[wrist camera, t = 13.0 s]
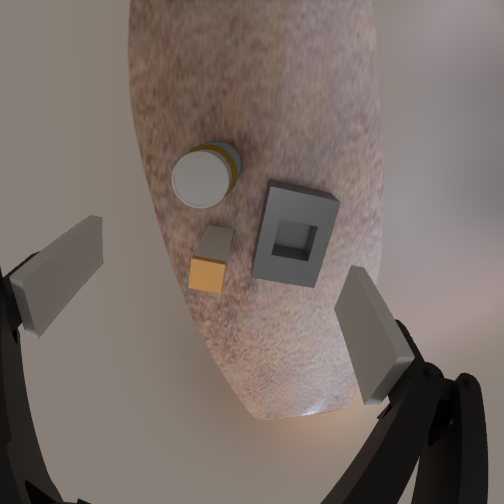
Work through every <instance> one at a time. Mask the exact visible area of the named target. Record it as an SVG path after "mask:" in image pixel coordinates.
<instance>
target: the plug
mask: <svg viewBox="0 0 504 504" xmlns="http://www.w3.org/2000/svg"><path fill="white" fill-rule="evenodd" d="M233 233H234V229H230V228H225V227H220V226H214V225H208V227H207V229H206V231H205V233H204V235H203V237H202V239H201V241H200V243H199V245H198V247H197V249H196V251H195V253H194V255H193V257H192V260H191V268H190V277H189V287H188V288H192V289H197V290H202V291H208V292H213V293H218V294H221V290H222V285H223V281H224V276H225V272H226V267H227V263H228V259H229V254H230V249H231V244H232V238H233Z"/></svg>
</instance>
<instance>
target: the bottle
mask: <svg viewBox="0 0 504 504" xmlns="http://www.w3.org/2000/svg"><path fill="white" fill-rule="evenodd" d="M240 170H241V158H240V156H239V154H238V152H237V151H236V150H235V148H234V147H232V146H231V145H229V144H227V143H224V142H212V143H208V144H204V145H200V146H198V147H196V148H193V149H192V150H190V151H189V152H188V153H187V154H186V155H185V156H183V157H182V158H181V159H180V160H179V161H178V162H177V163H176V165H175V167H174V169H173V172H172V187H173V190H174V192H175V194H176V196H177V197H178V198H179V200H180V201H182V202H183V203H184V204H186V205H188V206H190V207H193V208H199V209H201V208H209V207H212V206H213V205H215V204H217V203H218V202H220V200H222V199H223V198H224V197H225V196H226V195H227V194H228V193H229V192H230V191H231V190H232V188H233V187H234V185H235V183H236V180H237V178H238V176H239V174H240Z"/></svg>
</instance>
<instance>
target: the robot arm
mask: <svg viewBox="0 0 504 504" xmlns="http://www.w3.org/2000/svg"><path fill="white" fill-rule="evenodd" d="M102 264H103V238H102V217H98V216H93V215H90V216H88V217H87V218H86V219H84V220H83V221H81V222H80V223H78V224H77V225H75V226H74V227H73V228H71V229H70V230H68V231H67V232H66V233H64V234H63V235H61V236H60V237H59V238H57V239H56V240H55V241H53V242H52V243H51V244H50V245H48V246H47V247H46V248H44V249H43V250H41V251H39V252H37V253H34V254H32V255H30V256H29V257H28V258H27V259H25V261H23V262H22V263H20V264H19V266H17V267H15V268H14V269H13V270H12V271H11V272H9V273H8V274H7V275H6V276H5V277H4V278H3V276H2V272H1V268H0V504H90V503H87V502H85V501H83V500H81V499H78V501H77V503H71V502H63V499H62V498H61V495H60V493H59V492H58V490H57V488H56V487H55V485H54V484H53V482H52V481H51V479H50V477H49V475H48V472H47V469H46V466H45V463H44V460H43V457H42V455H41V451H40V447H39V444H38V440H37V437H36V433H35V429H34V425H33V421H32V417H31V412H30V408H29V402H28V397H27V392H26V386H25V379H24V372H23V365H22V355H21V344H20V333H19V330H18V327H19V325H20V324H21V323H23V326H24V329H25V332H26V334H28V335H31V336H33V337H35V338H37V339H39V338H40V336H42V334H43V333H44V332H45V330H46V329H47V328H48V327H49V325H50V324H51V323H52V321H53V320H54V319H55V318H56V317H57V316H58V314H59V313H60V312H61V311H62V310H63V308H64V307H65V306H66V305H67V303H68V302H69V301H70V300H71V299H72V298H73V297H74V295H75V294H76V293H77V292H78V291H79V290H80V288H81V287H82V286H83V285H84V284H85V283H86V282H87V281H88V280H89V278H90V277H91V276H92V275H93V274H94V273H95V272H96V271H97V269H99V268H100V267H101V265H102ZM334 309H335V312H336V315H337V318H338V321H339V324H340V327H341V330H342V333H343V336H344V339H345V342H346V345H347V349H348V352H349V355H350V358H351V361H352V365H353V368H354V371H355V375H356V378H357V381H358V385H359V388H360V391H361V395H362V399H363V402H364V404H365V405H371V404H380V403H382V401H383V400H384V399H385V398H386V396H387V395H388V398H389V400H390V403H389V404H388V405H387V407H386V408H385V409H384V410H383V411H382V412H381V414H380V415H379V416H378V417H377V418H378V419H379V420H378V422H377V424H376V426H375V427H374V429H373V431H372V432H371V434H370V435H369V437H368V439H367V440H366V442H365V443H364V445H363V447H362V448H361V450H360V451H359V453H358V454H357V456H356V457H355V459H354V460H353V461H352V463H351V464H350V466H349V467H348V469H347V470H346V471H345V473H344V474H343V475H342V477H341V478H340V480H339V481H338V482H337V484H336V485H335V486H334V487H333V489H332V490H331V491H330V493H329V494H328V495H327V496H326V498H325V499H324V500H323V501H322V502H321V504H397V503H398V501H399V499H400V497H401V495H402V493H403V491H404V489H405V487H406V485H407V483H408V481H409V479H410V477H411V475H412V472H413V470H414V468H415V465H416V463H417V461H418V459H419V465H418V472H417V477H416V483H415V487H414V492H413V497H412V502H411V504H487V498H488V447H487V433H486V422H485V413H484V406H483V399H482V393H481V387H480V384H479V382H478V381H477V379H476V378H475V377H474V376H472V375H470V374H468V373H461V374H460V375H459V376H458V377H457V379H456V380H455V381H453V380H450V379H446V378H444V376H443V373H442V372H441V370H440V369H439V368H438V367H437V366H435V365H434V364H432V363H429V362H425V361H424V359H423V357H422V355H421V354H420V352H419V350H418V348H417V346H416V344H415V343H414V341H413V339H412V337H411V336H410V334H409V332H408V330H407V328H406V327H405V326H404V325H403V324H402V323H401V322H400V321H399V320H396V319H394V317H393V316H392V314H391V312H390V311H389V309H388V307H387V305H386V303H385V302H384V300H383V298H382V296H381V295H380V293H379V292H378V290H377V288H376V286H375V285H374V283H373V281H372V280H371V278H370V276H369V275H368V273H367V272H366V270H365V268H363V267H358V266H353V265H351V268H350V270H349V273H348V275H347V278H346V281H345V283H344V286H343V288H342V291H341V293H340V296H339V298H338V300H337V303H336V305H335V308H334ZM419 456H420V458H419Z"/></svg>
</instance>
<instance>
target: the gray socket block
mask: <svg viewBox="0 0 504 504" xmlns="http://www.w3.org/2000/svg"><path fill="white" fill-rule="evenodd" d="M339 205H340V201H339V200H337V199H336V198H335V197H334V196H333V195H332V194H331V193H327V192H322V191H318V190H314V189H310V188H305V187H301V186H296V185H292V184H287V183H282V182H277V181H272V180H269V183H268V188H267V192H266V197H265V202H264V207H263V211H262V216H261V221H260V226H259V230H258V235H257V240H256V244H255V249H254V254H253V259H252V269H251V277H253V278H258V279H264V280H270V281H276V282H281V283H287V284H293V285H299V286H305V287H311V288H314V287H315V284H316V281H317V278H318V275H319V272H320V269H321V265H322V262H323V259H324V256H325V253H326V249H327V246H328V243H329V239H330V236H331V233H332V229H333V226H334V222H335V219H336V215H337V212H338V208H339Z"/></svg>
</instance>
